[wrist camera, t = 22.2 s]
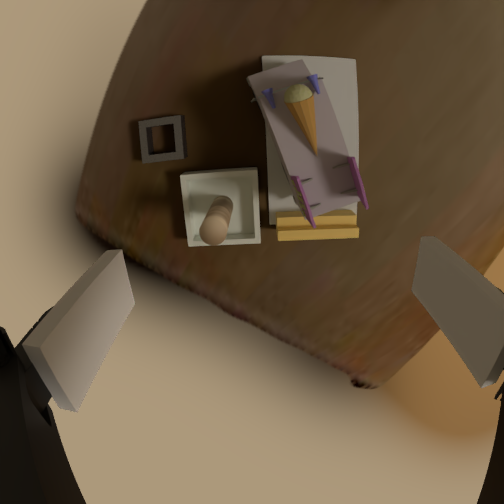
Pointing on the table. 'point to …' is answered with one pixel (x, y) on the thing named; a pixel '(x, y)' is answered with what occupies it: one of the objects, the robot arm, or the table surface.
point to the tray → (222, 184)
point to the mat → (346, 110)
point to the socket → (147, 140)
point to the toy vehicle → (307, 139)
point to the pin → (216, 221)
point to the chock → (327, 226)
